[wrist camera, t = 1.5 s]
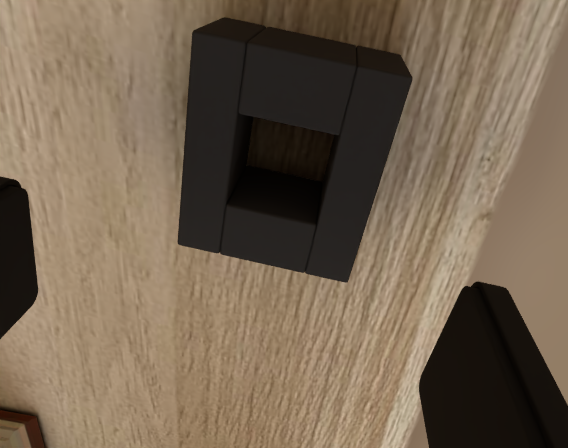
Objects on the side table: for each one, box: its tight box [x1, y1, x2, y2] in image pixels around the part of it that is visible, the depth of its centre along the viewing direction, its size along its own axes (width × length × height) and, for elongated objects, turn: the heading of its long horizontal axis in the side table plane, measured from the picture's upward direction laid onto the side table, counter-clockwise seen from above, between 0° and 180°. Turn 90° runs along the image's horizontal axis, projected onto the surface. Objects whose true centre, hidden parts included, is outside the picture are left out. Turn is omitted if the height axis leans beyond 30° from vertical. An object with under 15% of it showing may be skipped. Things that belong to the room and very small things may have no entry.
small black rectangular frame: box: [178, 18, 412, 282], centre depth 15 cm, size 6×7×3 cm
